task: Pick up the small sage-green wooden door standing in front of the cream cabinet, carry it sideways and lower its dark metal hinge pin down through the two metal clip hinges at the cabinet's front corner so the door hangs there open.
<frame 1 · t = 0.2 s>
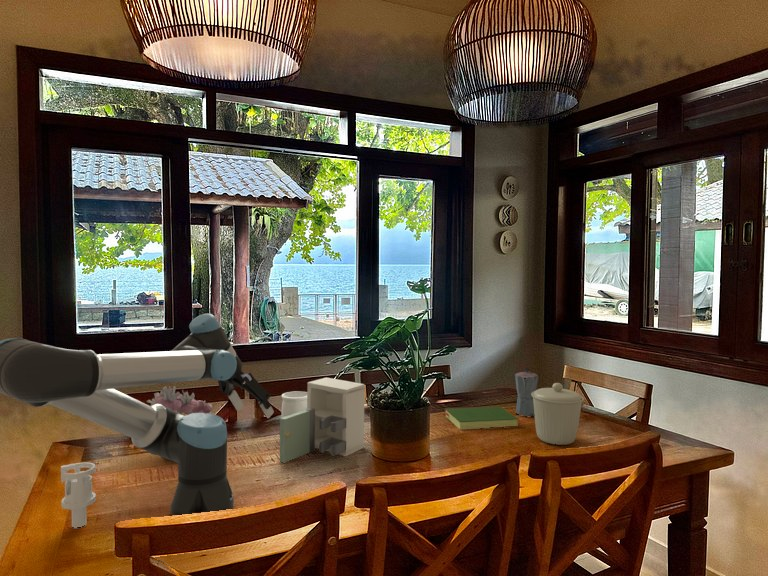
hand: (255, 411, 163), 16 cm above the table, tool tilted 35°, fingers open, 13 cm apart
hardcover book: (479, 422, 210), on the table
jar: (295, 435, 190), on the table
moka pot: (525, 414, 221), on the table
door: (297, 455, 170), on the table
cabinet: (335, 446, 179), on the table
canister: (555, 441, 188), on the table
flower: (182, 451, 173), on the table
strainer: (79, 525, 123), on the table
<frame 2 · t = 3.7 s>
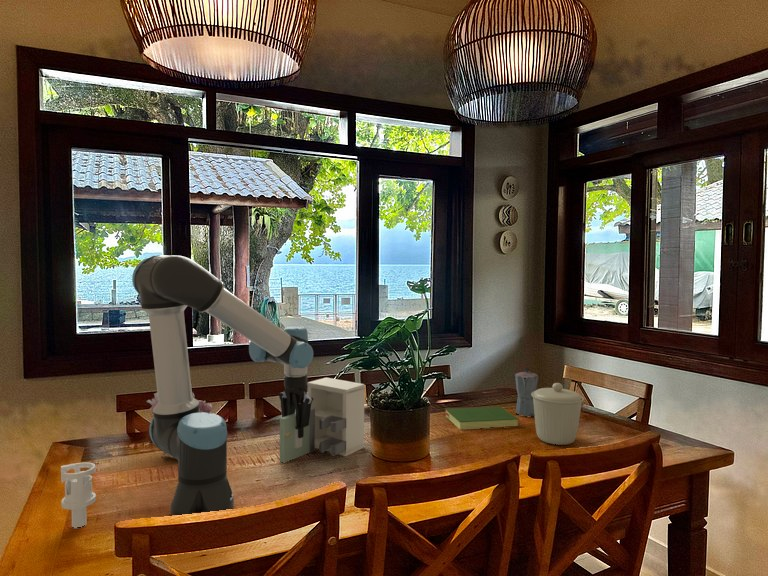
hand: (295, 446, 169), 3 cm above the table, tool pointing down, fingers closed on door, 2 cm apart
door: (297, 455, 170), on the table, touching gripper
everything else where it was.
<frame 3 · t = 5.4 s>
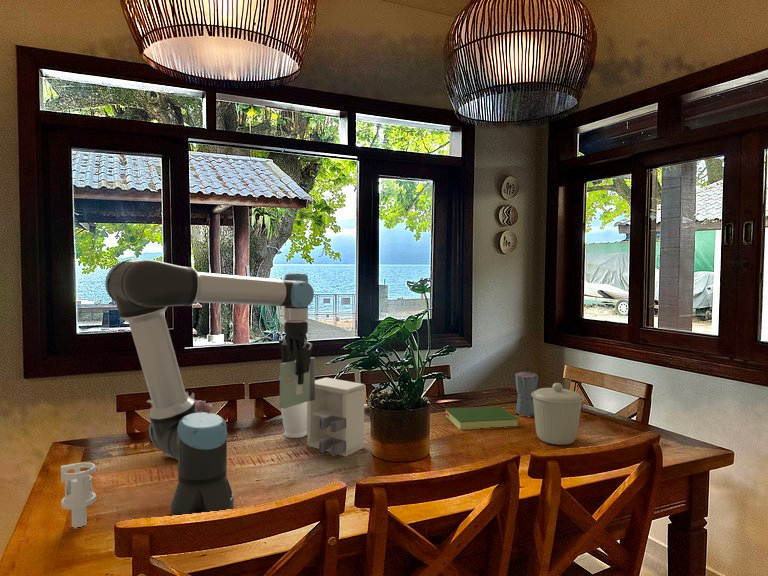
hand: (295, 393, 168), 21 cm above the table, tool pointing down, fingers closed on door, 2 cm apart
door: (297, 403, 169), point 17 cm above the table, touching gripper
everything else where it was.
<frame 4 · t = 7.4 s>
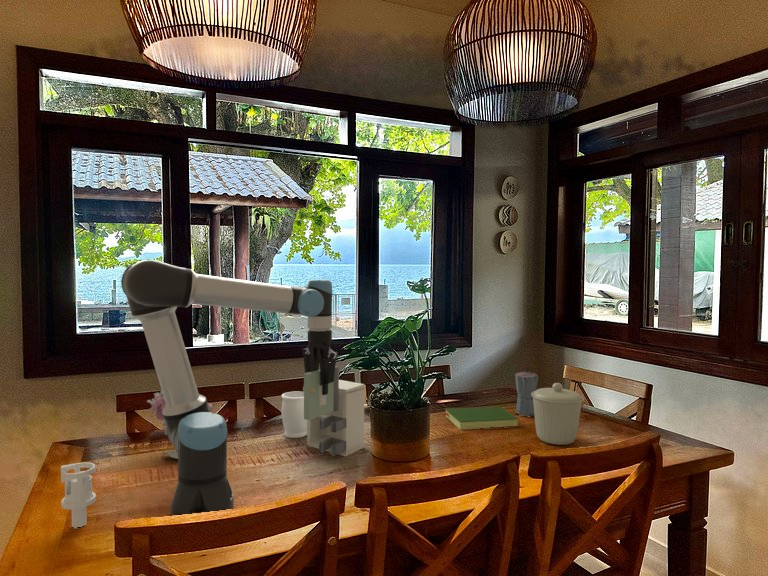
hand: (319, 403, 162), 19 cm above the table, tool pointing down, fingers closed on door, 2 cm apart
door: (321, 414, 163), point 16 cm above the table, touching gripper
everything else where it was.
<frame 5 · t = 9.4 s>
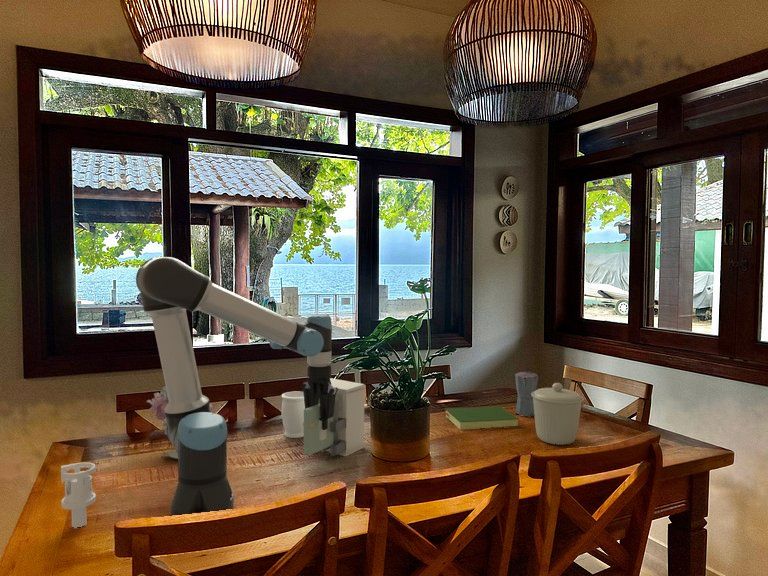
hand: (319, 438, 163), 8 cm above the table, tool pointing down, fingers closed on door, 2 cm apart
door: (321, 448, 164), point 5 cm above the table, touching gripper
everything else where it was.
when the fingers open (5 cm above the table, at t = 11.2 s): door drops 1 cm, on the table.
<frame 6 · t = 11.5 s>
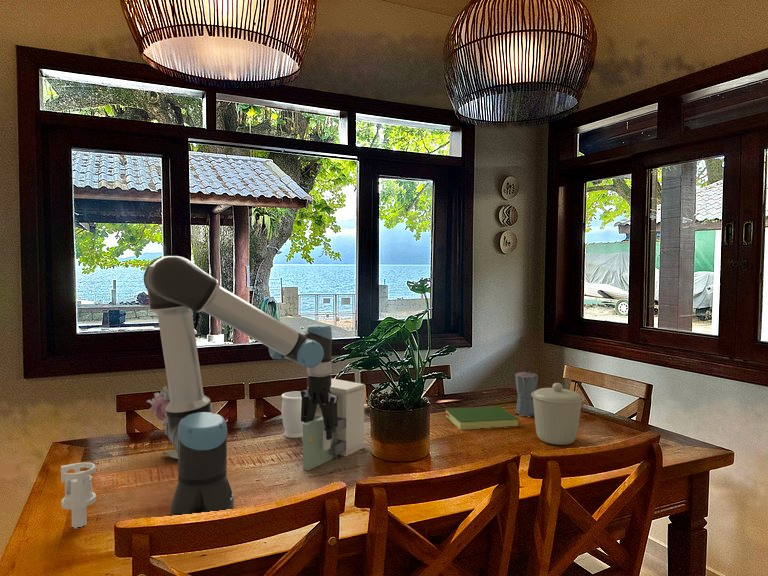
hand: (318, 446, 163), 5 cm above the table, tool pointing down, fingers open, 6 cm apart
door: (320, 462, 164), on the table
everything else where it was.
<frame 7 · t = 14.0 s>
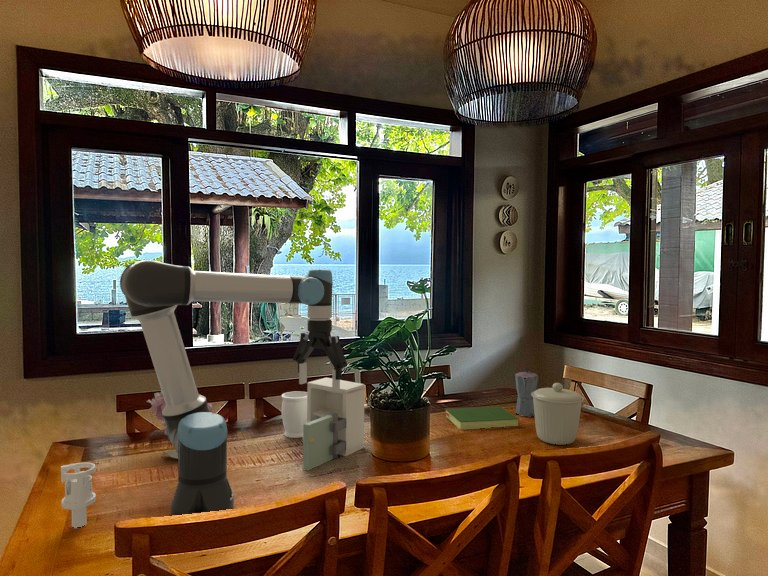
hand: (319, 386, 162), 25 cm above the table, tool pointing down, fingers open, 13 cm apart
nothing on the table moved.
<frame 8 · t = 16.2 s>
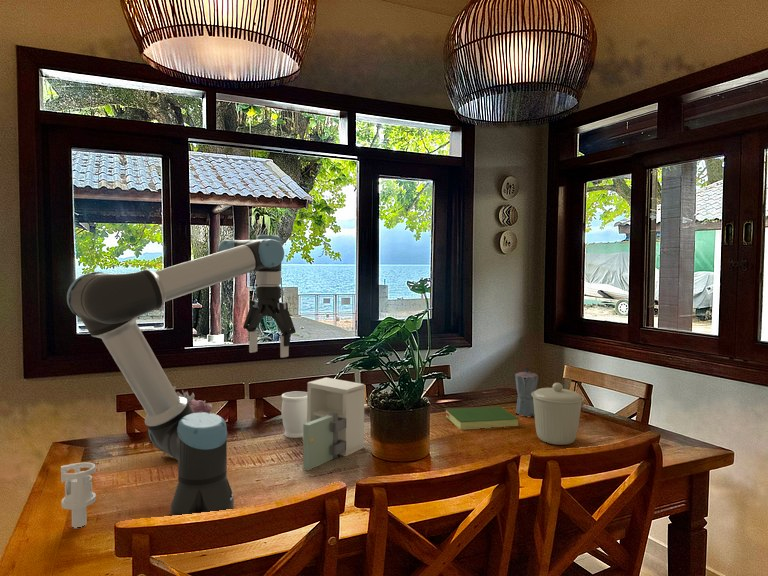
hand: (268, 354, 160), 35 cm above the table, tool pointing down, fingers open, 13 cm apart
nothing on the table moved.
at the end: door 0.0 cm from the target spot, on the table; door tilted 0°; the gripper is holding nothing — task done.
